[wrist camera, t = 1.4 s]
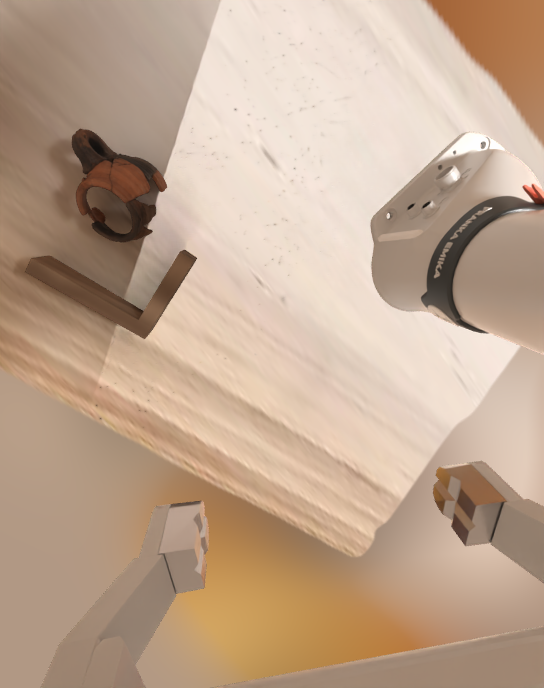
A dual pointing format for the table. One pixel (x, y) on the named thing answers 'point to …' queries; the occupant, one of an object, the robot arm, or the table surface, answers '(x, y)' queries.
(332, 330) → the table surface
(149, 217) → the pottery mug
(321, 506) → the table surface
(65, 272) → the dock
